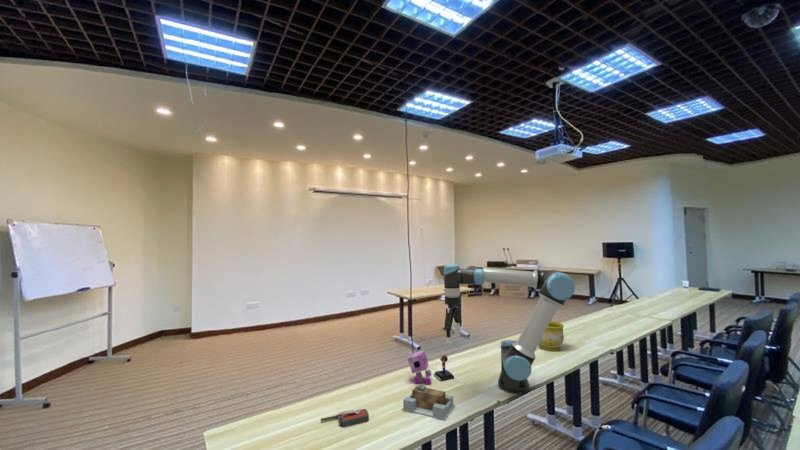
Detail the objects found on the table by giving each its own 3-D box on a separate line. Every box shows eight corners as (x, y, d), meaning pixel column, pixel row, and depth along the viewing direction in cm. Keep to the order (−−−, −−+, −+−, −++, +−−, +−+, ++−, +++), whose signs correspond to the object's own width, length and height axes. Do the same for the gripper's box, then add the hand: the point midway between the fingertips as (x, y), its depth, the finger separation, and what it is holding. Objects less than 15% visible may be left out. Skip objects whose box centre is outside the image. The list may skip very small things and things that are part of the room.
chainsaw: (365, 412, 152) (320, 422, 144) (365, 401, 152) (320, 411, 145) (372, 421, 144) (324, 432, 136) (371, 411, 144) (324, 421, 137)
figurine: (433, 376, 189) (433, 354, 190) (446, 373, 193) (446, 352, 193) (440, 381, 182) (440, 358, 183) (454, 378, 186) (453, 356, 186)
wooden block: (445, 407, 154) (445, 388, 154) (441, 412, 149) (441, 393, 149) (416, 401, 160) (416, 383, 160) (412, 405, 155) (412, 387, 156)
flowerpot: (569, 352, 225) (568, 327, 226) (541, 352, 226) (541, 327, 226) (557, 343, 243) (556, 320, 244) (531, 344, 244) (531, 320, 244)
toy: (430, 384, 177) (421, 355, 179) (416, 387, 179) (407, 359, 181) (433, 376, 188) (424, 349, 190) (419, 380, 189) (410, 353, 191)
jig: (454, 406, 156) (454, 396, 156) (445, 420, 144) (444, 409, 144) (414, 397, 165) (414, 387, 165) (402, 409, 153) (402, 399, 153)
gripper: (452, 291, 182) (453, 332, 182) (436, 300, 160) (437, 346, 159) (466, 292, 179) (467, 333, 178) (452, 301, 157) (453, 348, 156)
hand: (453, 339), depth 169 cm, fingers open, 13 cm apart
